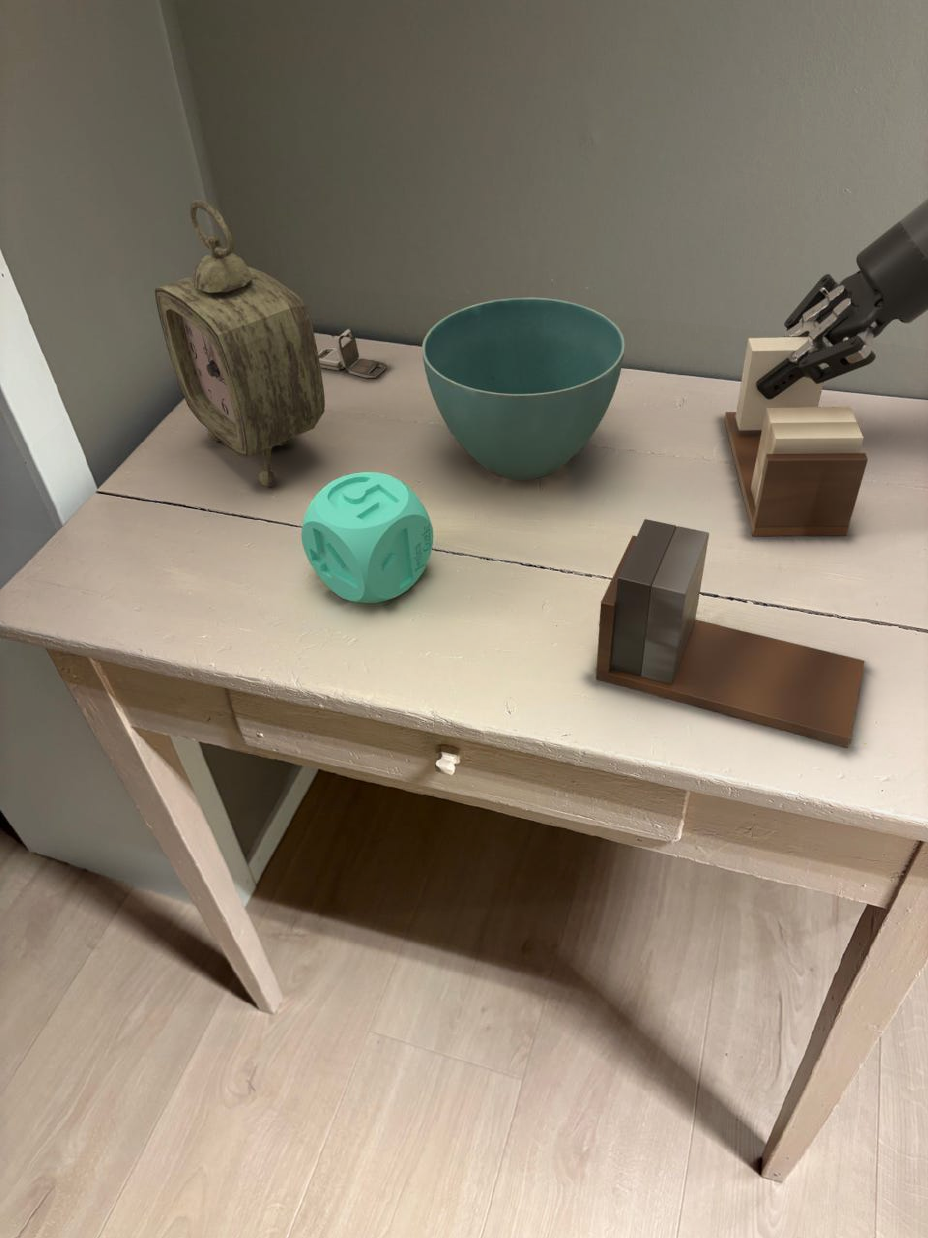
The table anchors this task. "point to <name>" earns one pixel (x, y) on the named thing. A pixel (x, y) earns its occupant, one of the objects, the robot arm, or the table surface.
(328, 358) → the strap clip
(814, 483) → the brown wooden book rack
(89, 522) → the table surface
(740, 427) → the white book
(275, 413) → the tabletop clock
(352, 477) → the decorative dice
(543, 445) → the teal bowl
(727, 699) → the brown wooden bookend
